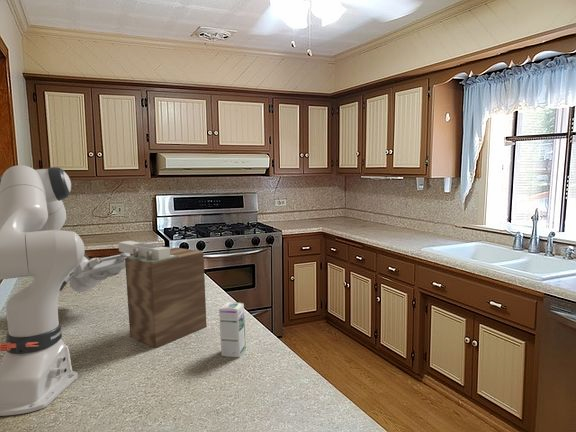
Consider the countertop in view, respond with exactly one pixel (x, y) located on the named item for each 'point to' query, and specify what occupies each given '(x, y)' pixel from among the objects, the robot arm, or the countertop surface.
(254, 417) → the countertop surface
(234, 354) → the syrup box
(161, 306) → the wooden peg block
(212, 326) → the countertop surface
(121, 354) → the countertop surface
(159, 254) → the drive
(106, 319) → the countertop surface
